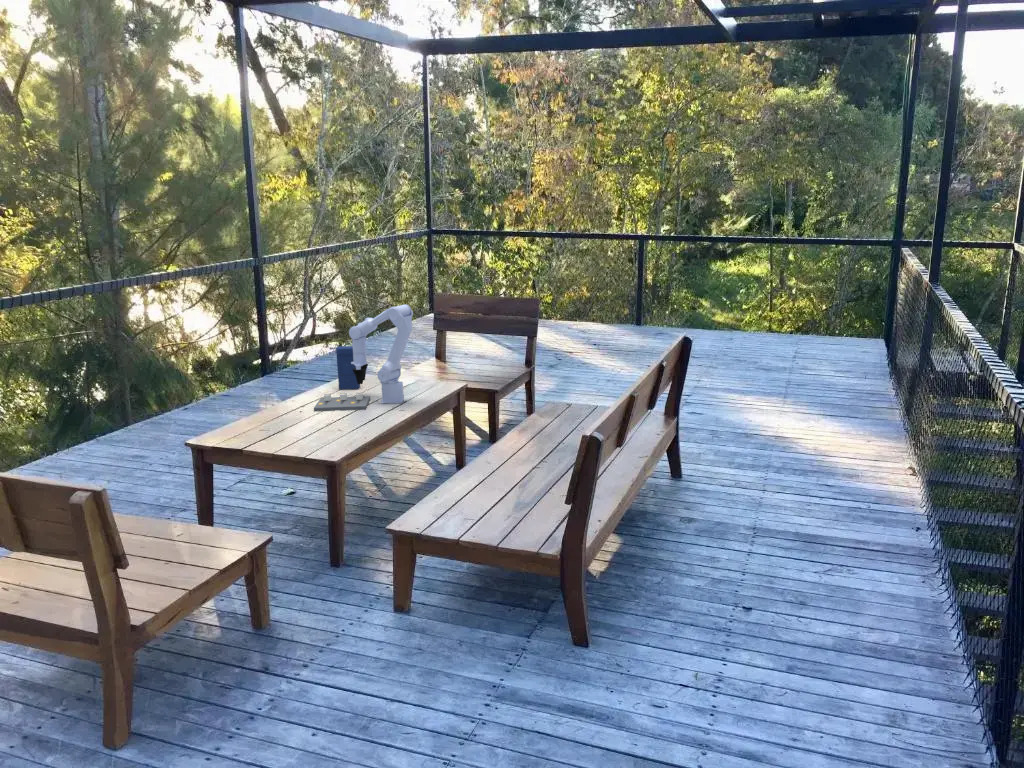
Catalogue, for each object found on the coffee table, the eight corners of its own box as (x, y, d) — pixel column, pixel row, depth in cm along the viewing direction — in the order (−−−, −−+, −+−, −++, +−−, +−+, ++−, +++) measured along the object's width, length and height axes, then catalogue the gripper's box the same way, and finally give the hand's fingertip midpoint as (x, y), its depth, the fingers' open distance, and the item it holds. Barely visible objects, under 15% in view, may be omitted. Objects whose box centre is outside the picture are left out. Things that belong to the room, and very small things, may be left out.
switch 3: (362, 398, 392) (362, 392, 392) (362, 399, 389) (361, 393, 389) (357, 398, 392) (356, 392, 392) (356, 399, 389) (355, 393, 389)
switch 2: (347, 398, 392) (346, 392, 391) (346, 400, 389) (345, 394, 388) (341, 398, 392) (340, 392, 391) (340, 400, 389) (339, 394, 388)
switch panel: (370, 399, 397) (370, 396, 397) (365, 409, 380) (365, 406, 379) (321, 401, 396) (320, 397, 396) (314, 411, 379) (313, 407, 379)
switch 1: (331, 399, 392) (330, 393, 391) (330, 400, 389) (329, 394, 388) (325, 399, 392) (325, 393, 391) (324, 400, 389) (323, 394, 388)
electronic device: (360, 387, 421) (358, 345, 417) (358, 389, 416) (355, 347, 412) (341, 387, 422) (338, 345, 418) (338, 389, 417) (335, 348, 413)
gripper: (352, 349, 402) (354, 378, 405) (348, 355, 388) (350, 386, 391) (368, 349, 402) (370, 378, 405) (364, 355, 388) (366, 385, 391)
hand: (361, 382), depth 398 cm, fingers open, 7 cm apart
